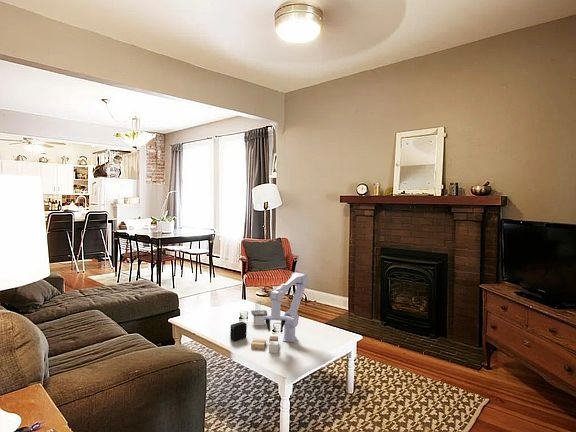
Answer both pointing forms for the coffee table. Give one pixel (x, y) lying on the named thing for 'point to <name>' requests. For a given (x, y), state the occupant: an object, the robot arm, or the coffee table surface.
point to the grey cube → (273, 346)
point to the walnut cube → (273, 338)
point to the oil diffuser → (259, 316)
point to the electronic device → (238, 331)
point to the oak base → (258, 343)
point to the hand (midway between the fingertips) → (275, 331)
